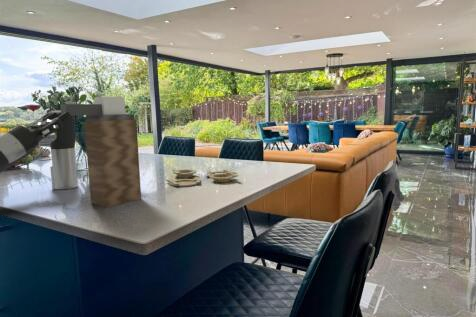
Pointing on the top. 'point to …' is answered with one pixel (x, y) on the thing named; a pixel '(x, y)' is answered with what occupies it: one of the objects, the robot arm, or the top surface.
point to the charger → (96, 107)
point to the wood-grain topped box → (112, 159)
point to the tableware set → (191, 182)
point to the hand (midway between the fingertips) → (63, 114)
